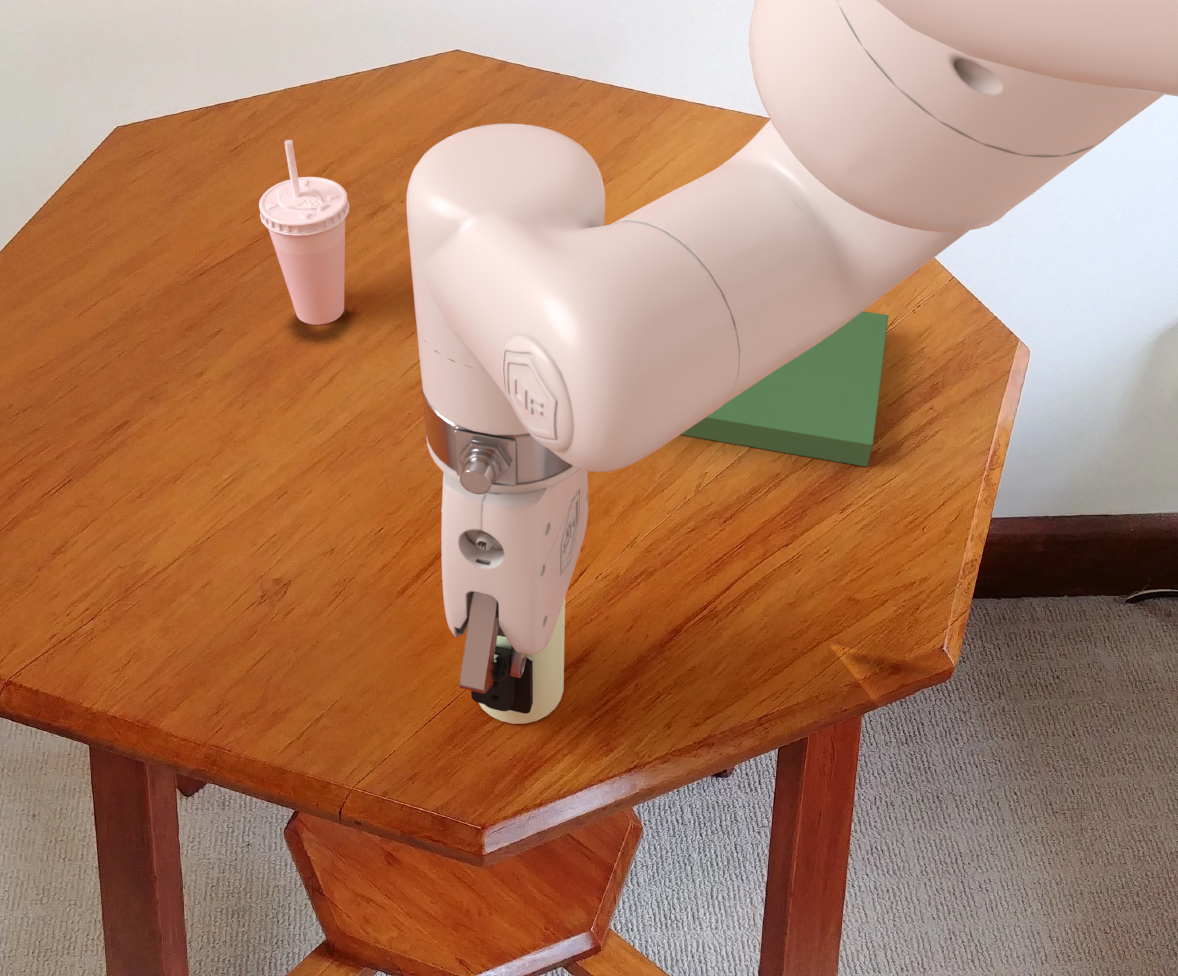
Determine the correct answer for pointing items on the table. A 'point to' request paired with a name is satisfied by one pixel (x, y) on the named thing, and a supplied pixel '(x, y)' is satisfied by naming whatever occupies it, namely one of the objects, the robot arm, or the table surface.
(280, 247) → the smoothie
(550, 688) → the candle
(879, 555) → the table surface
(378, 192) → the table surface
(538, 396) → the robot arm
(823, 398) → the foam
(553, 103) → the table surface
